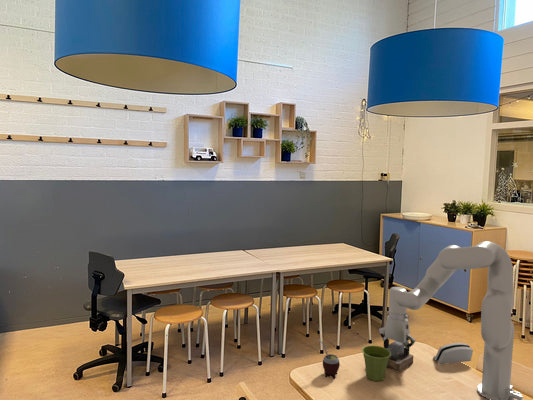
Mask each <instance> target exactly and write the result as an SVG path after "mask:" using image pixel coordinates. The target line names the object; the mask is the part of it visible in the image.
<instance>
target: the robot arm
mask: <svg viewBox="0 0 533 400" xmlns="http://www.w3.org/2000/svg"><path fill="white" fill-rule="evenodd" d="M513 266H514V265H513V262H512V259H511V257H510V254H509V253H508V252H507V251H506V250H505V248H503V247H502V246H501V245H499V244H497V243H495V242H493V241H487V240H486V241H481V242H479V243H477V244H476V245H471V246H464V247H461V246H460V245H455V244H449V245H448V246H446V247H445V248H443V249H442V250H440V252H439V253H438V256H437V257H436V259H435V260H434V261H433V262H432V263H431V264H430V266H429V267H428V268H427V269H426V272H425V275H424V277H423V278H422V279H421V280H420V282H419V283H418V284H417V285H416V286H415V288H413V289H412V290H410V291H407V289H406V288H405V287H403V286H402V287H401V286H392V287H390V289H389V290H388V291H389V293H388V296H389V298H388V315H387V317H386V319H385V324H384V325H385V326H384V327H380V328H378V331H379V334H380V336H381V338H382V341H383V347H384V348H386V349H388V348H389V344H390V340H392V341H394V342H395V341H398V342H401V343H403V345H404V357H406V356H408V355H409V354H410V348H411V347H413V346H414V344H415V343H416V339H415V338H414V337H413V336H411V334H410V333H411V332H410V324H409V320H408V319H409V318H410V316H409V315H408V314H407V309H408V310H410V311H411V310H412V311H417V310H420V309H421V308H422V307H423V306H424V305H425V304H427V303H428V301H429V300H430V299H431V298H432V297H433V296H434V295H435V294H436V292H437V291H438V290H439V289H440V288H441V287H442V286H444V284H445V283H446V282H447V281H448V280H449V279H450V278H451V276H452V275H454V273H455V272H456V271H457V270H473V269H474V270H475V269H485V268H487V289H486V294H485V295H484V297H483V298H482V302H481V309H480V310H481V311H480V313H481V314H480V317H481V318H480V334H481V338H482V341H484V344H483V345H484V346H483V360H482V378H481V379H482V380H481V383H479V384H478V385H477V388H476V389H477V392H479V393H478V394H479V395H480V394H481V395H482V397H483V396H484V397H486V398H488V399H491V400H523V399H524V396H523V395H522V392H520V391H517V390H514V389H513V386H514V385H511V382H512V381H511V380H512V365H513V363H512V362H513V351H514V350H513V348H514V341H515V325H514V323H513V321H512V311H513V308H514V305H515V303H514V267H513ZM481 395H480V396H481ZM484 397H483V398H484ZM486 398H485V399H486ZM488 399H487V400H488Z"/></svg>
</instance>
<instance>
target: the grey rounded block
mask: <svg viewBox="0 0 533 400" xmlns="http://www.w3.org/2000/svg"><path fill="white" fill-rule="evenodd" d="M473 352H474V350H473V349H472V347H470V345H469V344H468V343H465V342H464V343H463V342H453V343H448V344H445V345H442V346H440V347H439V349H438V350H437V353H436V354H435V355H434V356H433V358H432V360H433V359H434V360H435V361H437V363H436V364H438V363H439V364H438V365H445V363H447V364H455V363H464V362H471V361H472V357H473Z"/></svg>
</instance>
